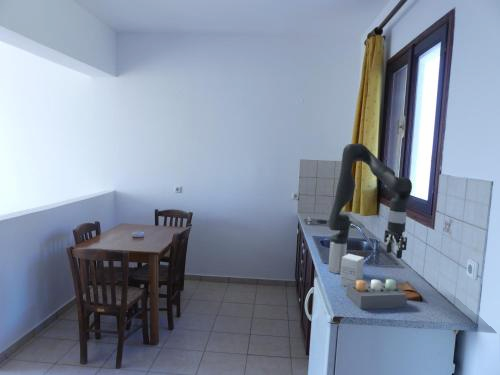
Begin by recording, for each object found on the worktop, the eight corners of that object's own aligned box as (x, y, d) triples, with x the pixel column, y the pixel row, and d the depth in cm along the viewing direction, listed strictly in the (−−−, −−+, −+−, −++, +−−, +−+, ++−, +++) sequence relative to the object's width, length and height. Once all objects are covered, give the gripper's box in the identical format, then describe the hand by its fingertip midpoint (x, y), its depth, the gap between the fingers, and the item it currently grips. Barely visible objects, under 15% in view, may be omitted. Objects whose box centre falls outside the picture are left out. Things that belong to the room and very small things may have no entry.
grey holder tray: (346, 295, 167) (346, 283, 166) (387, 294, 171) (388, 282, 170) (360, 309, 153) (361, 296, 153) (405, 307, 158) (406, 294, 157)
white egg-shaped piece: (368, 290, 164) (369, 279, 163) (377, 290, 165) (378, 279, 164) (373, 294, 159) (374, 283, 159) (382, 294, 160) (383, 283, 159)
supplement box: (346, 280, 188) (348, 253, 186) (362, 284, 182) (364, 257, 180) (339, 284, 181) (341, 256, 179) (355, 289, 175) (358, 260, 173)
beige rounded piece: (353, 291, 162) (354, 279, 162) (362, 290, 163) (363, 279, 163) (358, 295, 158) (359, 283, 157) (367, 295, 159) (368, 283, 158)
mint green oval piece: (382, 290, 165) (383, 279, 164) (391, 289, 166) (392, 278, 165) (388, 294, 161) (389, 282, 160) (397, 294, 161) (398, 282, 161)
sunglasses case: (391, 285, 182) (399, 275, 182) (402, 293, 182) (410, 283, 182) (404, 300, 165) (413, 289, 164) (416, 308, 165) (425, 297, 164)
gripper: (380, 217, 166) (377, 250, 168) (398, 224, 152) (395, 260, 154) (395, 217, 167) (392, 250, 169) (414, 224, 153) (410, 260, 155)
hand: (393, 255), depth 161 cm, fingers open, 7 cm apart
